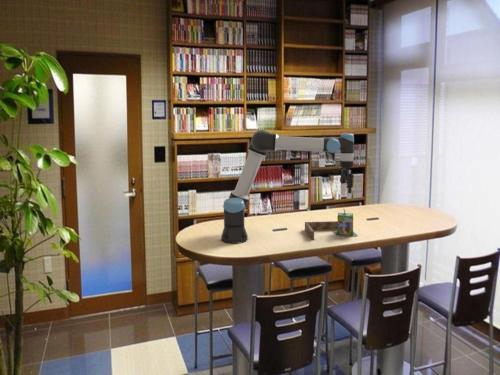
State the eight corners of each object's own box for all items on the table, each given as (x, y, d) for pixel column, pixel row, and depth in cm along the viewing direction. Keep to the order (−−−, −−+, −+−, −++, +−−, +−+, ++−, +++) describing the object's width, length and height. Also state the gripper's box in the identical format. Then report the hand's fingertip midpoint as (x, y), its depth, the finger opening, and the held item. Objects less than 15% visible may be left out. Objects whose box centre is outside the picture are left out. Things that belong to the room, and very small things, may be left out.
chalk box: (353, 235, 269) (353, 210, 266) (337, 234, 271) (337, 210, 268) (353, 231, 278) (353, 207, 275) (337, 230, 280) (338, 207, 277)
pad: (337, 236, 268) (337, 236, 268) (332, 231, 280) (332, 230, 280) (357, 236, 268) (357, 235, 268) (352, 230, 280) (352, 230, 280)
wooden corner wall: (311, 239, 262) (311, 231, 261) (304, 229, 284) (304, 221, 283) (360, 238, 264) (361, 230, 263) (350, 228, 285) (350, 220, 285)
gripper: (359, 162, 255) (358, 200, 258) (347, 158, 279) (346, 192, 283) (345, 162, 254) (345, 200, 258) (335, 158, 279) (334, 192, 282)
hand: (345, 196), depth 270 cm, fingers open, 13 cm apart
